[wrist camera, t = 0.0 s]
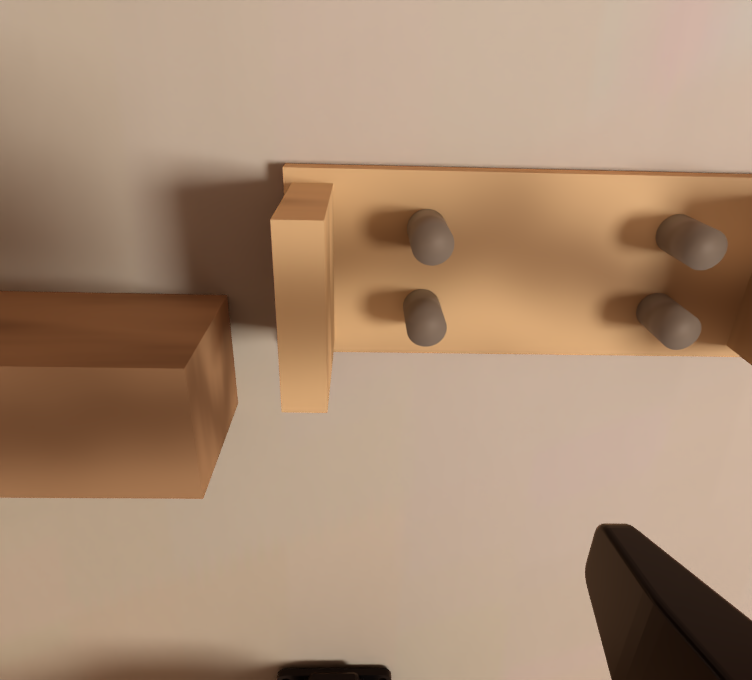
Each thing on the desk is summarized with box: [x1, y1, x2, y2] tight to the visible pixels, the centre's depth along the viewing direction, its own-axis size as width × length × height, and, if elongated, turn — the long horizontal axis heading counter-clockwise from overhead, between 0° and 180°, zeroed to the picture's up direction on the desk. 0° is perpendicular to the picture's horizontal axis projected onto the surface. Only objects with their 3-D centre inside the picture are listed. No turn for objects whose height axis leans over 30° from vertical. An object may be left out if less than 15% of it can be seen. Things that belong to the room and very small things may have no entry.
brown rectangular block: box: [0, 291, 238, 499], centre depth 20 cm, size 5×12×6 cm, turn 88°
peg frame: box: [270, 163, 752, 413], centre depth 19 cm, size 7×19×6 cm, turn 88°
